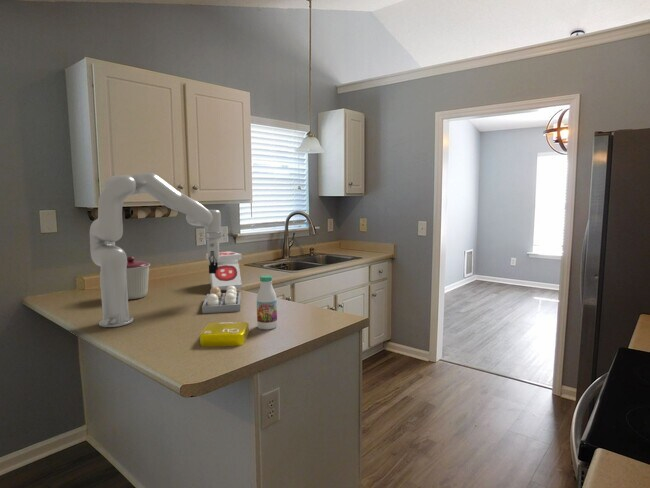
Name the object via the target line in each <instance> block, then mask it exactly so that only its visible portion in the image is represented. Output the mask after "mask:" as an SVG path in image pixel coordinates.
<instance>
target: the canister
mask: <svg viewBox="0 0 650 488" xmlns="http://www.w3.org/2000/svg"><path fill="white" fill-rule="evenodd" d="M150 266H151V263H149V262H147V261H145V260H144V261H143V260H135V257H134V256H131V255H130V256H127V268H126V279H127V293H128V300H137V299H141V298H144V297H146V295H147V294H148V291H149V276H150V275H149V274H150Z"/></svg>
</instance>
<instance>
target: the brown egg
mask: <svg viewBox="0 0 650 488" xmlns="http://www.w3.org/2000/svg"><path fill="white" fill-rule="evenodd" d="M209 292H210V293H209V294H216V295H217V296H218V297H221V293H222V290H220V288H219V287H213V288H210V291H209Z"/></svg>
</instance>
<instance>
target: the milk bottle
mask: <svg viewBox="0 0 650 488" xmlns="http://www.w3.org/2000/svg"><path fill="white" fill-rule="evenodd" d="M259 277H260V278H259V283H260V285H259V286H260V288H259V290H258V292H257V295H256V322H257V323H256V325H257V328H258V329H259V330H273V329H276V328H277V326H278V300H277V299H278V298H277V294H276V292H275V289H274V286H273V277H272V275H261V276H259Z"/></svg>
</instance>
